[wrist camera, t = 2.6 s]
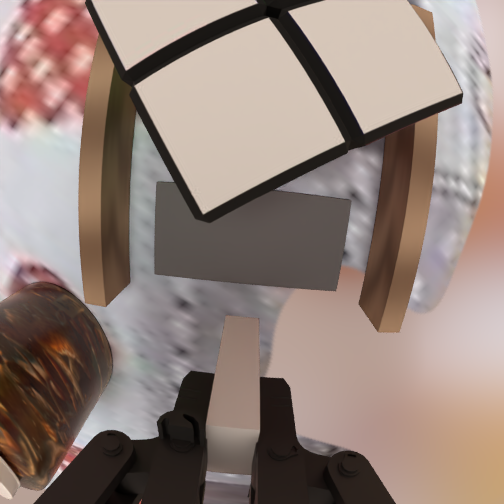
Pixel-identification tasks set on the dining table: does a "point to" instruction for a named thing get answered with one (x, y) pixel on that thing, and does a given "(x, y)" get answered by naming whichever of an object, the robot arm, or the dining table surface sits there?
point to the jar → (45, 381)
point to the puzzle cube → (269, 85)
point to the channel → (118, 191)
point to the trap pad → (254, 240)
